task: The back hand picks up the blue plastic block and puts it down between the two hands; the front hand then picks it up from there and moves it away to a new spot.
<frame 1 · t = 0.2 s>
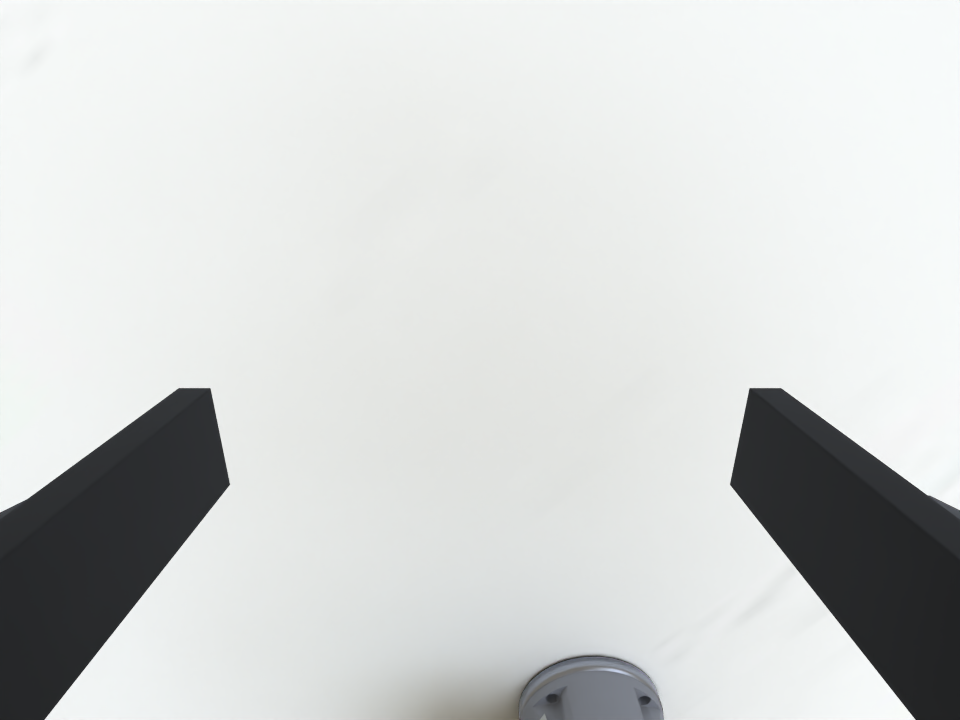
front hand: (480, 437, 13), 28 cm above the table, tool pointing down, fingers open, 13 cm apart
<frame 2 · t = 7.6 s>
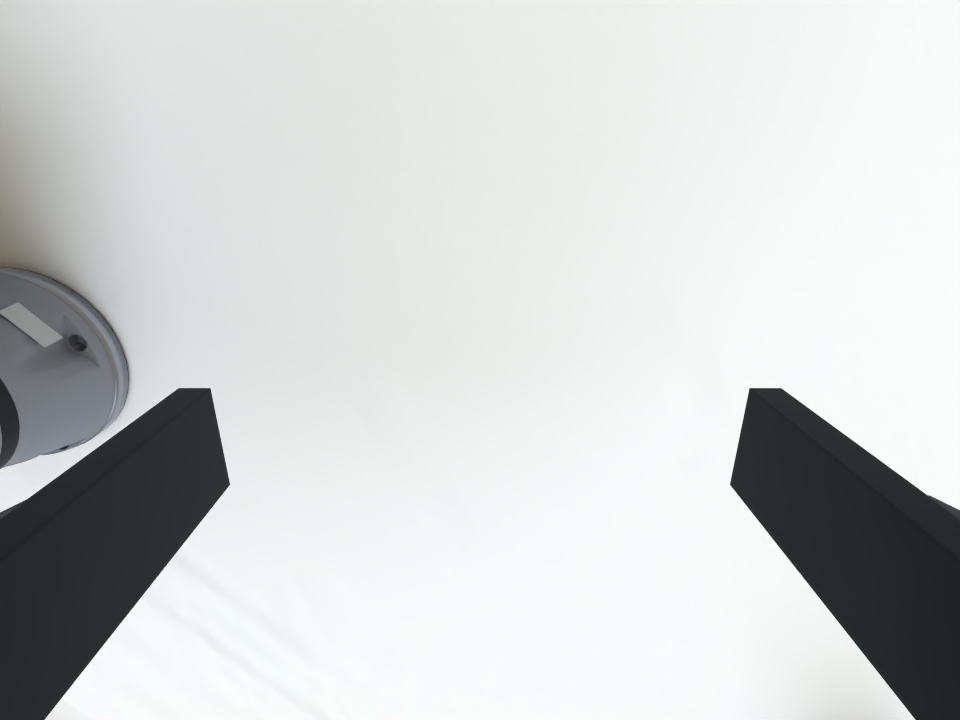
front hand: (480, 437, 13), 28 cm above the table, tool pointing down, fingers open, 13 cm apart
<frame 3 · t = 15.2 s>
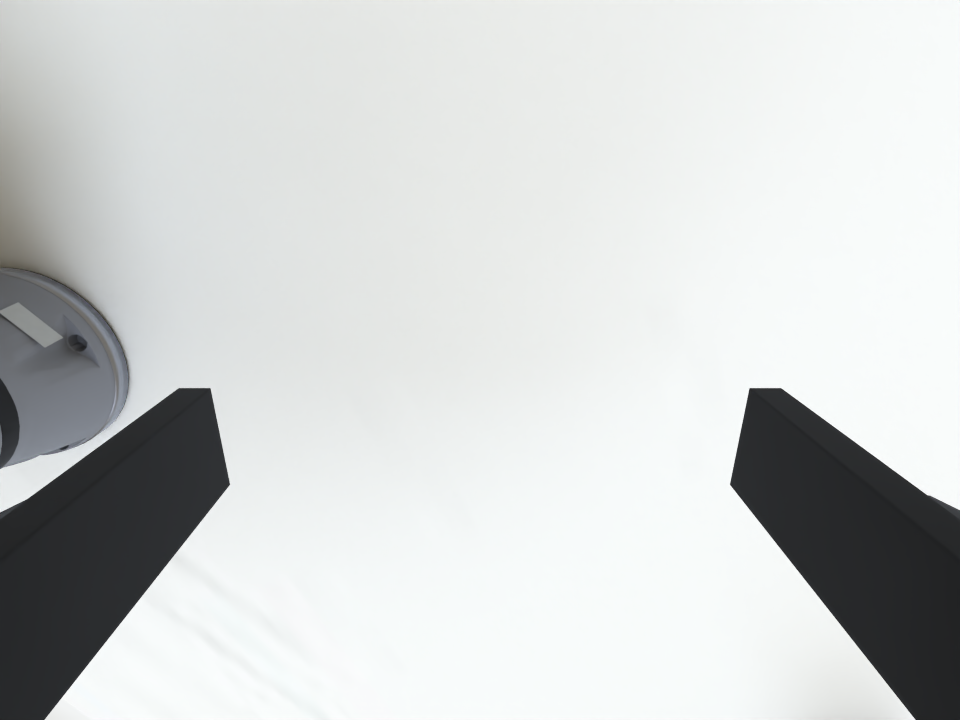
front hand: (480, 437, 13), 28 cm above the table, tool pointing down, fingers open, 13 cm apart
when the back hand's fingers open (4 cm above the table, at t = 22.7 s): block drops 1 cm, on the table.
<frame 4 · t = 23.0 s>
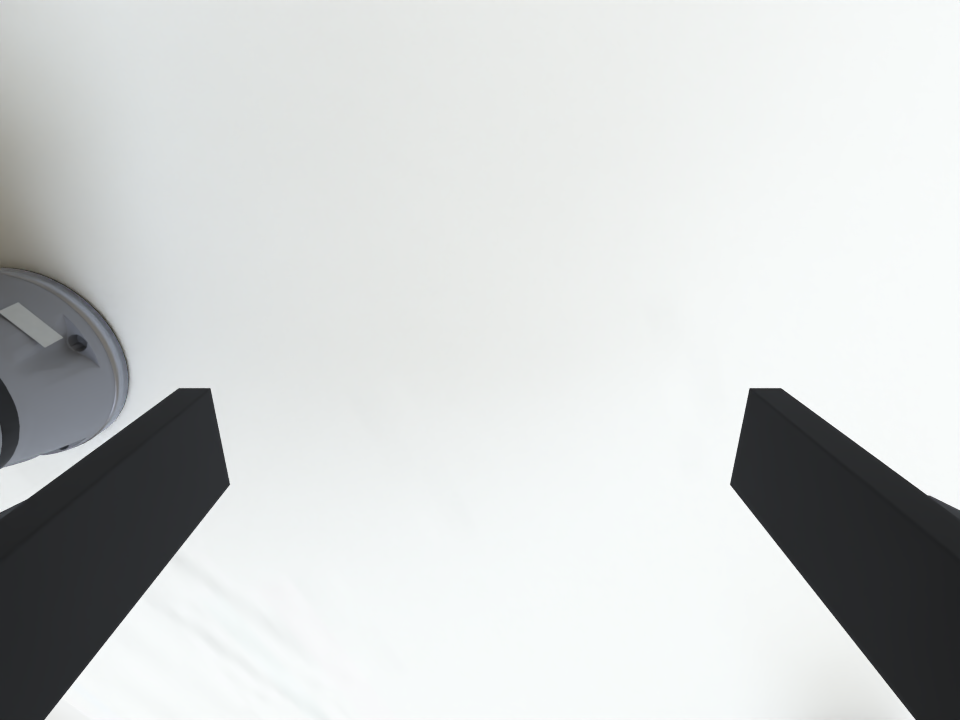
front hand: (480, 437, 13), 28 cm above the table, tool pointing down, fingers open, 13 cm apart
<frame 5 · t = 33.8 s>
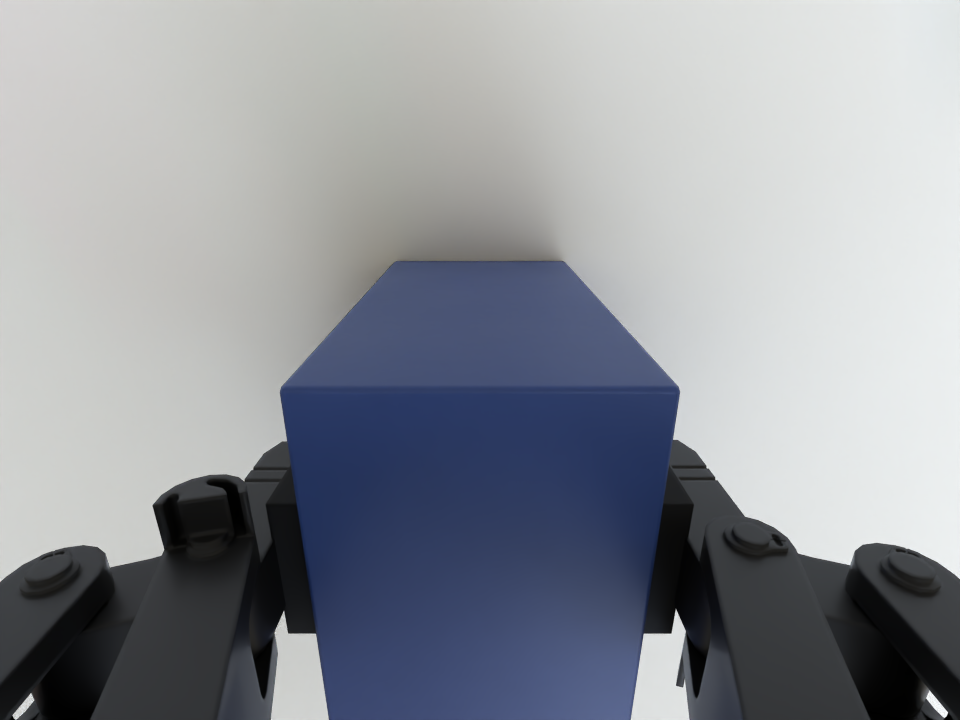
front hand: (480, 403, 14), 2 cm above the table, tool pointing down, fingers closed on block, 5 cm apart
block: (479, 373, 17), on the table, touching front hand
when the front hand's fingers open (4 cm above the table, at t = 37.8 s): block drops 1 cm, on the table.
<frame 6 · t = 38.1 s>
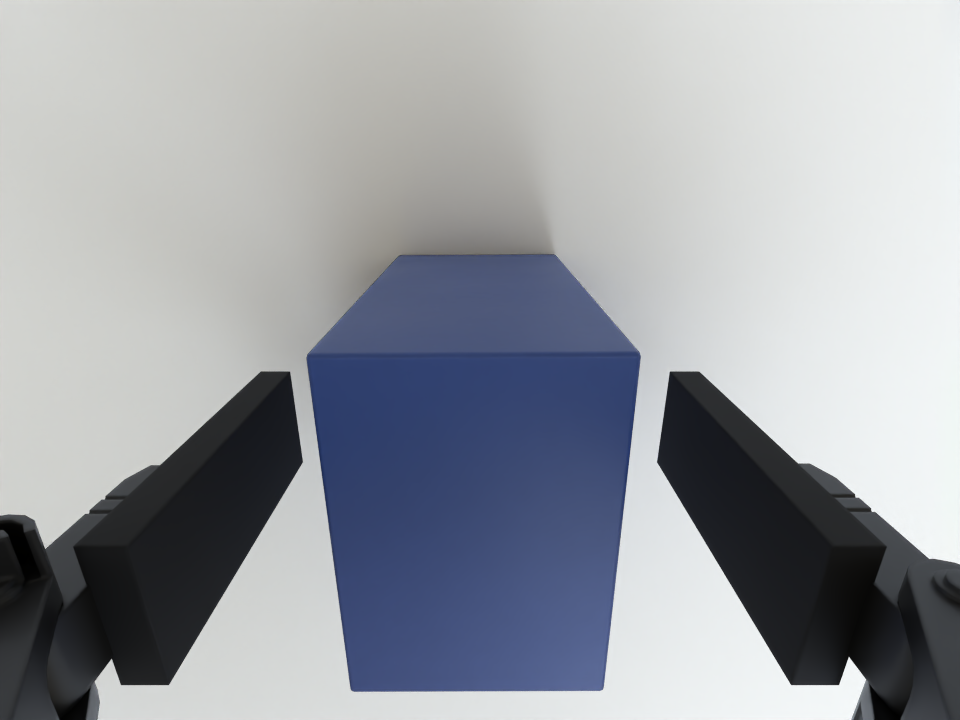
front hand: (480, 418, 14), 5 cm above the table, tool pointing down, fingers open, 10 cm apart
block: (477, 359, 18), on the table
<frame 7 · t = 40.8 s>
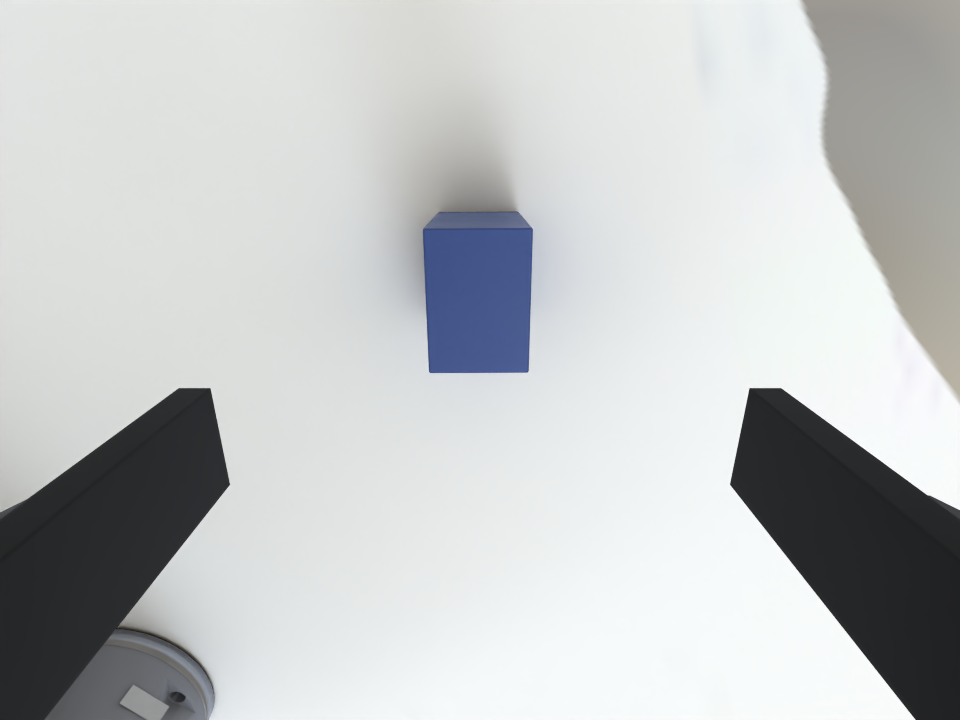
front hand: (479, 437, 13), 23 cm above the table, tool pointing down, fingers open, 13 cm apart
block: (478, 268, 34), on the table
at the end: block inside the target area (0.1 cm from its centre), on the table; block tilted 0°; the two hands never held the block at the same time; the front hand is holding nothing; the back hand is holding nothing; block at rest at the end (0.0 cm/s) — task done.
